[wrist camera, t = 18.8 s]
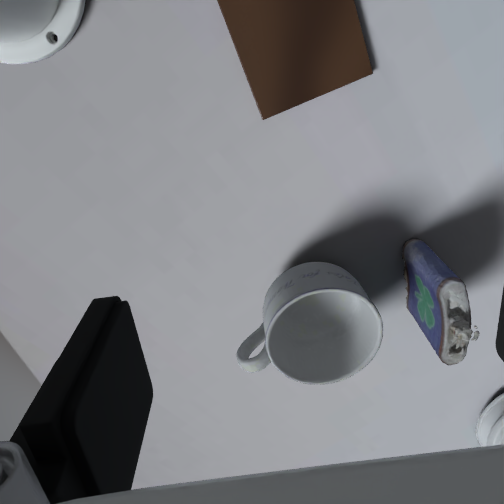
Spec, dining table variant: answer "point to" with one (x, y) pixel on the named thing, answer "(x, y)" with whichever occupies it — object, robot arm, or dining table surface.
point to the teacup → (315, 326)
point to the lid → (492, 424)
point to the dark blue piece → (437, 302)
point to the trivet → (296, 48)
